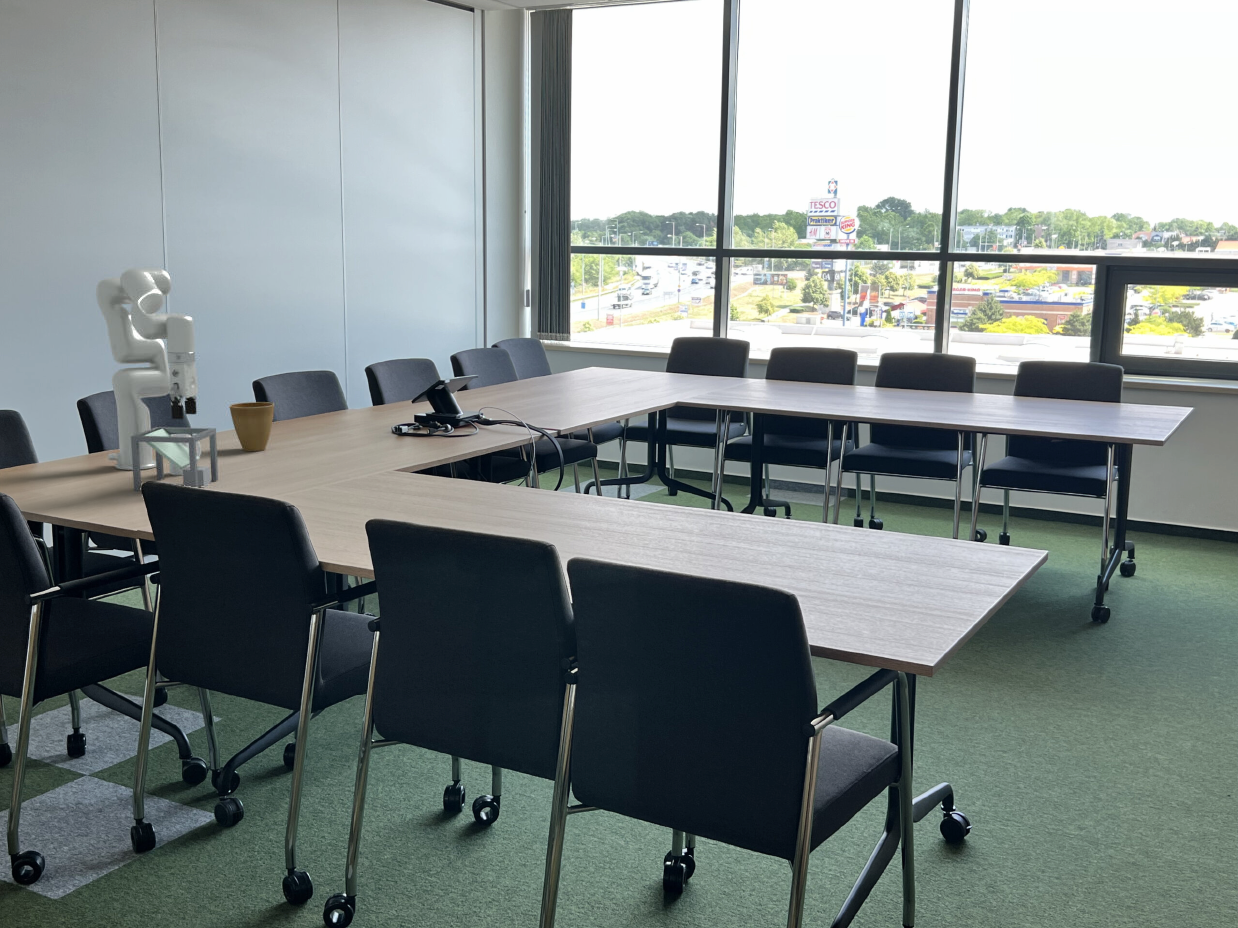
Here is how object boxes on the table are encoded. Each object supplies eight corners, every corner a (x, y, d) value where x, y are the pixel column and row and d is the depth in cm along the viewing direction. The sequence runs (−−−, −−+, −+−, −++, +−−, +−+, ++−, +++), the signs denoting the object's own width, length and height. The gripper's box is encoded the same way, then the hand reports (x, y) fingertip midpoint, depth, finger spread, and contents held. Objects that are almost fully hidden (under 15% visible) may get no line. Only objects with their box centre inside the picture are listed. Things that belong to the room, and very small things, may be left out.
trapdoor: (140, 438, 330) (142, 436, 330) (160, 431, 344) (162, 428, 344) (179, 469, 331) (181, 466, 331) (197, 460, 345) (199, 458, 345)
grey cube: (182, 469, 336) (203, 470, 336) (189, 466, 341) (209, 466, 341) (183, 487, 337) (203, 488, 337) (190, 484, 342) (210, 484, 342)
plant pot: (275, 445, 410) (273, 401, 407) (276, 452, 396) (274, 406, 393) (231, 446, 405) (229, 402, 402) (231, 454, 391) (229, 407, 388)
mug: (174, 476, 352) (172, 438, 350) (166, 473, 357) (163, 435, 355) (206, 472, 359) (204, 435, 357) (197, 469, 364) (196, 432, 362)
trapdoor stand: (134, 490, 331) (130, 436, 328) (159, 478, 348) (156, 427, 345) (196, 492, 331) (193, 437, 328) (218, 480, 348) (215, 428, 345)
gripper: (182, 361, 324) (185, 421, 327) (205, 355, 341) (208, 412, 344) (156, 360, 324) (159, 420, 327) (180, 355, 341) (183, 412, 344)
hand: (184, 416), depth 336 cm, fingers open, 9 cm apart
